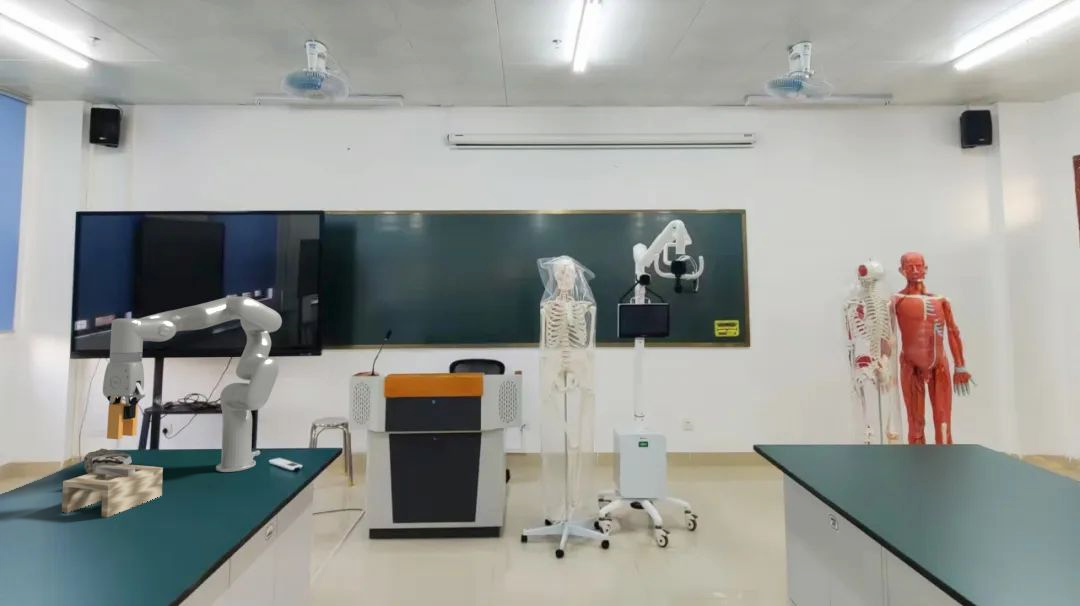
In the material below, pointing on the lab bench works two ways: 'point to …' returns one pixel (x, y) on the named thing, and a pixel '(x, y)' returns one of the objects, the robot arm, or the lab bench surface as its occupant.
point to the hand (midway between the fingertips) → (122, 417)
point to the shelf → (113, 488)
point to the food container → (110, 460)
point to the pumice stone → (96, 454)
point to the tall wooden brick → (120, 422)
